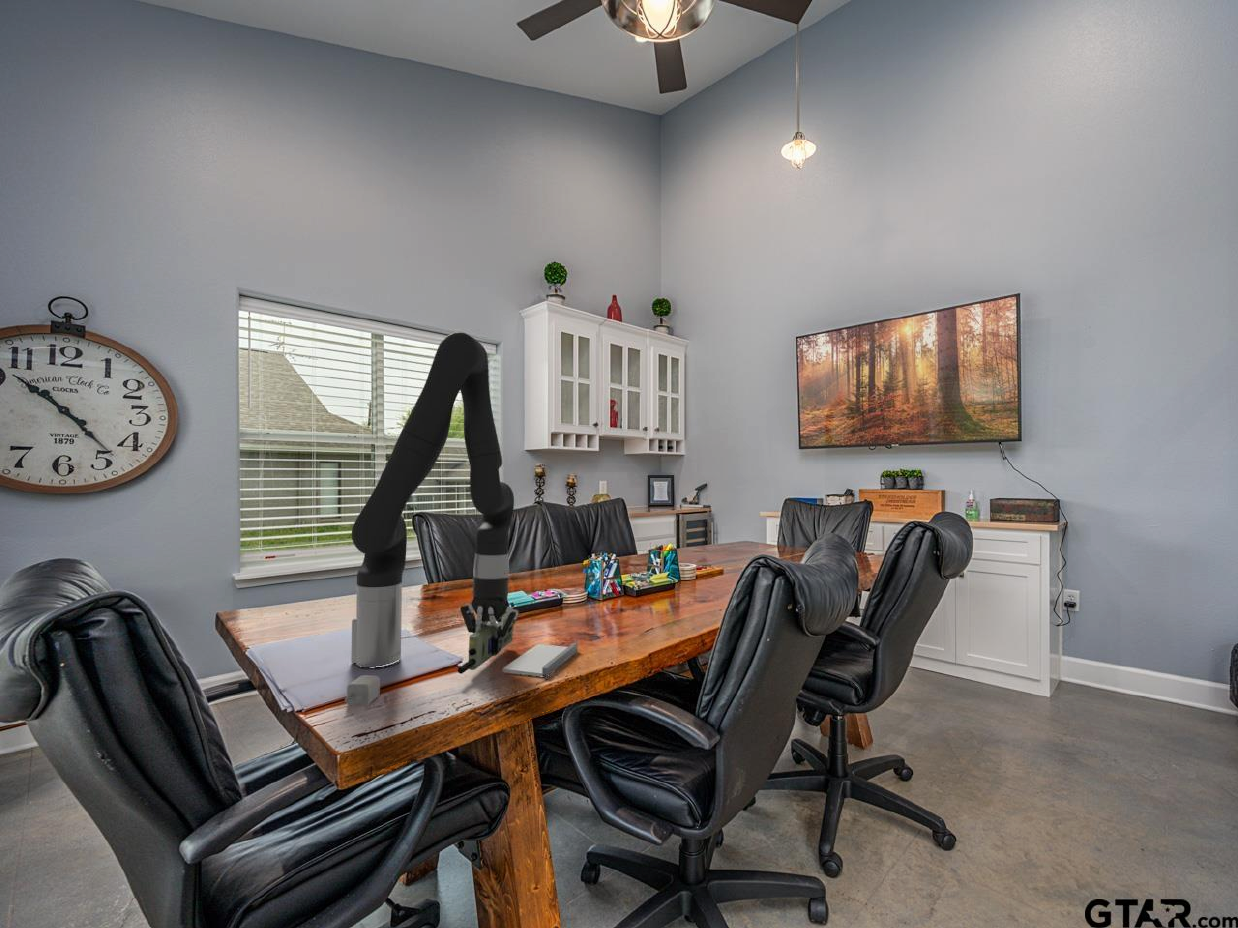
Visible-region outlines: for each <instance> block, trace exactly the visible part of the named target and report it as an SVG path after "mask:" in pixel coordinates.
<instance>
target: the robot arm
mask: <svg viewBox="0 0 1238 928" xmlns="http://www.w3.org/2000/svg"><path fill="white" fill-rule="evenodd" d="M489 378H490V376H489V357H488V352H487V350H486V349H485V347H484V346H483V345H482V344H481V342H479V341H478V340H477V339H475V338H474V337H473V336H471V335H470V334H469V333H466V332H464V331H463V332H462V331H456V332H453V333H450V334H448V335H447V336H445V338H443V340H442V341H441V342H440V344H439V346H438V347H437V350H436V351H435V355H434V358H433V361H432V363H431V367H430V370H429V373H428V375H427V378H426V381H425V383H424V385H423V388H422V390H421V392H420V394H419V396H418V398H417V399H416V402H415V403H414V406H413V407H412V410H411V412H410V414H409V416H408V418H407V419H406V422H405V423H404V426H403V428H402V429H401V431H400V434H399V436H398V438H397V440H396V442H395V444H394V446H393V449H392V451H391V454H390V455H389V458H388V459H387V462H386V463H385V466H384V468H383V470H382V474H381V475H380V478H379V480H378V482H377V484H376V486H375V487H374V490H372V493H371V495H370V497H369V498H368V499H367V501H366V502H365V505H364V506H363V508H362V509H361V511H360V513H359V514H358V516H357V517H356V519H355V521H354V523H353V525H352V528H351V539H352V542H353V545H354V547H355V548H356V549H357V550H358V552H360V553H362V554H364V557H363V562H362V564H361V566H360V567H359V569H358V571H357V573H356V598H355V599H356V600H355V601H356V602H355V603H356V607H355V609H356V610H355V613H356V614H355V618H353V619H352V620H351V659H350V660H351V662H352V663H356V664H355V666H356V665H358V666H361V667H376V666H383V665H386V664H390V663H393V662H395V661H397V660H399V659H400V658H401V659H402V621H403V620H402V615H403V614H402V607H403V593H402V592H403V574H404V571H405V566H406V562H407V561H406V560H407V541H408V530H407V529H408V528H407V524H406V521H405V519H404V517H403V516H402V515H403V512H404V510H405V508H406V505H407V503H408V501H409V500H410V498H411V497H412V495H413V494H414V492H415V491H416V490H417V489H418V487H419V486H420V485H421V484H422V483H423V481H425V479H426V478H427V476H429V474H430V472H431V471H432V469H433V468H434V466H435V464H436V463H437V461H438V459H439V457H440V455H441V453H442V451H443V448H444V447H445V444H446V442H447V439H448V436H449V431H450V427H451V422H452V421H451V420H452V416H453V415H452V414H453V409H454V406H455V405H454V403H455V402H456V399H457V397H458V395H459V393H461V398H462V404H463V436H464V438H463V439H464V443H465V449H466V453H467V458H468V463H469V466H470V467H469V468H470V470H469V471H470V473H469V474H470V475H469V487H470V497H471V501H472V504H473V506H474V508H475V510H476V511H477V512H478V513H479V514H481V515H482V521H481V525H480V526H479V527H478V528H477V530H476V533H475V545H474V546H475V549H474V550H475V551H474V559H473V570H472V571H473V573H472V574H473V576H472V596H473V597H472V600H471V602H470V603H467V604H465V605H462V606H461V607H460V612H461V615H462V617H463V621H464V623H465V626H466V629H467V632H468V633H470V634H473V633H475V632H476V631H478V630H479V629H481V628H483V627H484V626H486V625H487V624H489V623H490V626H491V628H492V634H493V639H492V650H491V652H492V654H491V655H492V657H496V656H497V655H499V654H500V652H501V651H502V649H501V643H502V637H504V636H506V635H508V634H510V632H511V630H512V628H513V629H514V626H515V625H516V623H517V622H516V621H517V619H519V616H520V613H521V612H520V610H519V609H514V608H512V607H510V604H509V600H508V595H509V580H510V578H509V575H510V561H509V540H510V539H509V536H510V535H509V534H510V528H511V524H512V519H513V514H514V508H515V507H514V506H515V497H514V496H515V495H514V492H513V489H512V487H511V486H509V484H507V483H505V482H502V481H501V477H500V476H501V475H500V468H501V467H502V465H503V455H502V451H501V446H500V443H499V438H498V434H497V429H496V424H495V420H494V419H495V418H494V413H493V408H492V401H491V392H490V379H489ZM506 613H507V615H506V618H507V620H506V622H505V624H504V627H502V625H503V615H504V614H506ZM475 614H476V617H475ZM352 663H351V664H352ZM358 666H357V667H358ZM361 667H360V668H361Z"/></svg>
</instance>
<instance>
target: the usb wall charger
mask: <svg viewBox="0 0 1238 928" xmlns="http://www.w3.org/2000/svg"><path fill="white" fill-rule="evenodd" d="M346 687H347V688H346V697H345V699H344V703H347V705H348V706H349V707H368V706H369V705H370V704H371V703H372V702H373V701H375V700H376V699H378V697H379V696H380V694H381V693H380V692H381V678H380V677H379V676H378V675H360V676H358V677H357V678H355V680H353V681H352V682H351V683H349V684H348V685H347V686H346Z"/></svg>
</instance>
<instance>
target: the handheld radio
mask: <svg viewBox="0 0 1238 928" xmlns="http://www.w3.org/2000/svg"><path fill="white" fill-rule="evenodd" d="M506 615H507V613H506V612H505V614H504V615H503V625H502V627H504V624H505V622H506V620H507V618H506ZM513 635H514V627H513V628H512V630H511V632H510V634H508V635H506V636H504V637H502V643H501V650H502V649H504V648H505V647H506V646H507V645H509V644H510V643H512V642H513V638H514V637H513ZM492 639H493V634H492V628H491V626H490V622H488V623H487V625H486V626H484V627H483V628H481V629H479V630H478V631H476V632H475V633H471V634H470V635H469V641H468V646H469V647H468V661H467V662H465V663H463V665H461V666H459V667H458V668H457V673H459V674H461V675H462V674H464V673H465V672H466V671H468V670H472V671H475V670H476V669H477V668H479V667H480V666H482V665H483V664H485V663H486V662H487V661H488V660H489V659H491V658H492V657H493V656H492V655H491V654H492V652H491V650H492Z"/></svg>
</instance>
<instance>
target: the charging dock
mask: <svg viewBox="0 0 1238 928" xmlns="http://www.w3.org/2000/svg"><path fill="white" fill-rule="evenodd" d="M578 649H579V648H578V642H572V643H571V644H570V645H569V646H561V645H560V646H559V645H555V644H554V645H552V644H543V643H538V644H536V645H534V646H533V647H531V649H529V650H527V651H526V652H524V653H523V654H522V655H520V656H518V657H517V658H515V659H514V660H513V661H511V662H510V663H509V664H506V666H504V667H503V668H502V673H506V674H513V675H520V674H521V676H522V675H523V676H528V675H532V676H531V677H536V676H543V677H542V678H544V677H547V676H548V675H549V676H551V675H552V674H553V673H554V672H555V671H556V670H558V669H559V668H560V667H561V666H562V665H564V662H565V661H566V662H567V661H568V660H569V659H571V658H572V657H573V656H574V655H575V654H577V653H578ZM566 662H565V663H566ZM558 667H559V668H558ZM557 668H558V669H557ZM553 671H554V672H553ZM552 672H553V673H552ZM551 673H552V674H551ZM550 674H551V675H550ZM549 676H548V677H549ZM548 677H547V678H548Z"/></svg>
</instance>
